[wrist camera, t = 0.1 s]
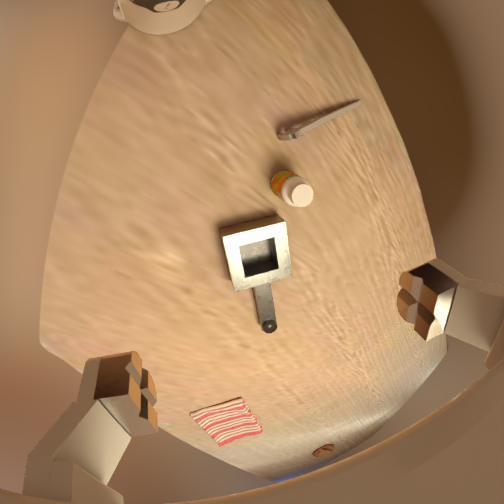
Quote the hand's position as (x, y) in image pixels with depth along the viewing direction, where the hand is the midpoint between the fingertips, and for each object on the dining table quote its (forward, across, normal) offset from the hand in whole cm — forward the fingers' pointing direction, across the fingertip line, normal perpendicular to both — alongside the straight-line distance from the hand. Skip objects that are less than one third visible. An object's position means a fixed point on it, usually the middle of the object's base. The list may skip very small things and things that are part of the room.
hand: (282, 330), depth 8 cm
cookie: (+48, -24, +132) cm, 143 cm away
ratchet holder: (+48, -8, +29) cm, 56 cm away
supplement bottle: (+48, -16, +9) cm, 52 cm away
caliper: (+48, -26, -3) cm, 55 cm away
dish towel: (+49, +10, +79) cm, 94 cm away
